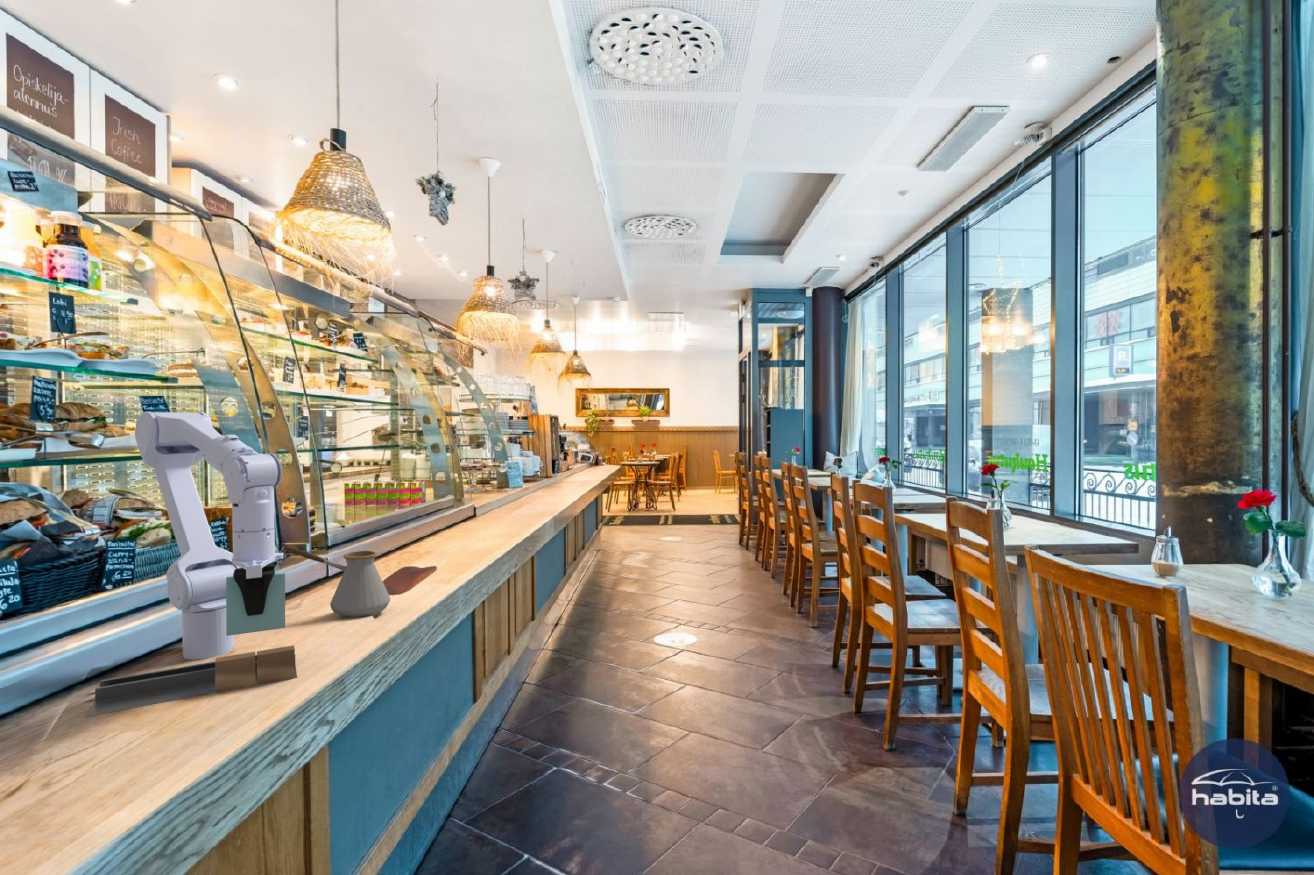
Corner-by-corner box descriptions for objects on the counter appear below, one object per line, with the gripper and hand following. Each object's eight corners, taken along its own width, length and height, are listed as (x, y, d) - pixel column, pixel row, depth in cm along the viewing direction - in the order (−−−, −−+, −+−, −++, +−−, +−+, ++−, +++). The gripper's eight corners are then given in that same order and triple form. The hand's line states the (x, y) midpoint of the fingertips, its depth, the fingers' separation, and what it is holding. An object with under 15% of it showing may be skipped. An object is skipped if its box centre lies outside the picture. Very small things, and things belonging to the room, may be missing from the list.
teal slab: (226, 633, 101) (226, 577, 101) (284, 625, 106) (284, 571, 105) (226, 636, 100) (226, 579, 100) (285, 627, 104) (285, 573, 104)
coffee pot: (397, 605, 140) (396, 538, 139) (381, 622, 129) (380, 549, 128) (294, 608, 137) (293, 539, 137) (268, 626, 126) (267, 551, 125)
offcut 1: (216, 687, 96) (215, 657, 95) (255, 680, 98) (255, 651, 98) (215, 692, 94) (215, 662, 94) (255, 684, 96) (255, 655, 96)
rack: (103, 692, 96) (102, 676, 96) (294, 660, 109) (294, 645, 109) (85, 723, 86) (85, 705, 86) (297, 683, 99) (297, 668, 99)
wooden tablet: (402, 570, 174) (402, 564, 174) (439, 570, 174) (439, 564, 174) (359, 598, 147) (359, 591, 147) (402, 598, 148) (402, 591, 148)
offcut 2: (257, 679, 98) (256, 651, 98) (294, 673, 101) (294, 645, 101) (257, 684, 97) (256, 655, 96) (295, 677, 99) (294, 649, 99)
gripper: (284, 534, 98) (285, 621, 99) (281, 520, 110) (282, 597, 111) (229, 538, 94) (230, 628, 95) (232, 524, 107) (234, 604, 107)
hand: (255, 612), depth 103 cm, fingers closed on teal slab, 1 cm apart
